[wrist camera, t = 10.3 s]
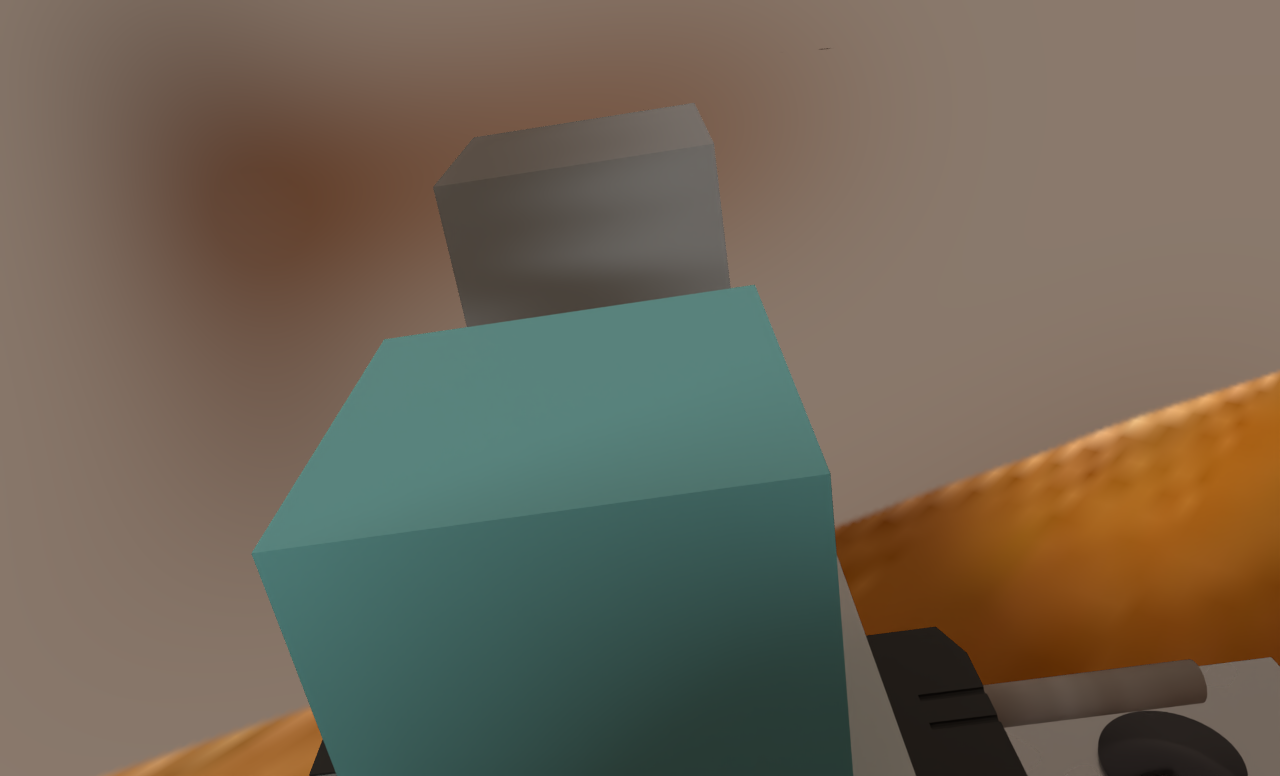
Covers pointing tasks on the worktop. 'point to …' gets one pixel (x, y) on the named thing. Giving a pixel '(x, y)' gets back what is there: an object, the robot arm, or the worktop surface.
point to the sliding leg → (570, 554)
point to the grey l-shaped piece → (665, 291)
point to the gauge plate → (1170, 733)
